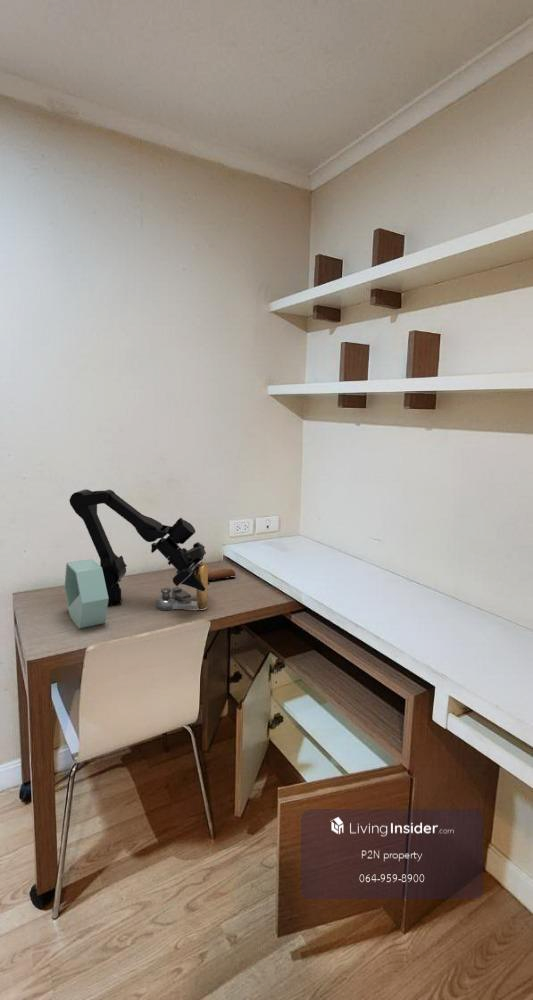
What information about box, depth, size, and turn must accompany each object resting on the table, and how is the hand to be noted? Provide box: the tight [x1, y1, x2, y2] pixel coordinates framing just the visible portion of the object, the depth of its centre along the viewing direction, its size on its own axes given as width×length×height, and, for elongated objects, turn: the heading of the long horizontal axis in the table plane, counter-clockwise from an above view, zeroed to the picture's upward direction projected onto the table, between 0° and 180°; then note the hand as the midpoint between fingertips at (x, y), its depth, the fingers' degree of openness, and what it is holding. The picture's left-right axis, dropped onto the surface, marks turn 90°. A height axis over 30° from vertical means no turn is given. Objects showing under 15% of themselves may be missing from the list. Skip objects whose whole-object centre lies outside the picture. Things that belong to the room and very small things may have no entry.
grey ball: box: [160, 587, 172, 600], centre depth 168 cm, size 3×3×3 cm
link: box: [156, 562, 209, 611], centre depth 167 cm, size 17×6×15 cm, turn 88°
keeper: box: [171, 586, 192, 601], centre depth 173 cm, size 4×8×4 cm, turn 38°
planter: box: [63, 558, 109, 629], centre depth 156 cm, size 17×8×21 cm
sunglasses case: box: [208, 568, 236, 581], centre depth 198 cm, size 18×7×7 cm
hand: (206, 587), depth 167 cm, fingers open, 5 cm apart
